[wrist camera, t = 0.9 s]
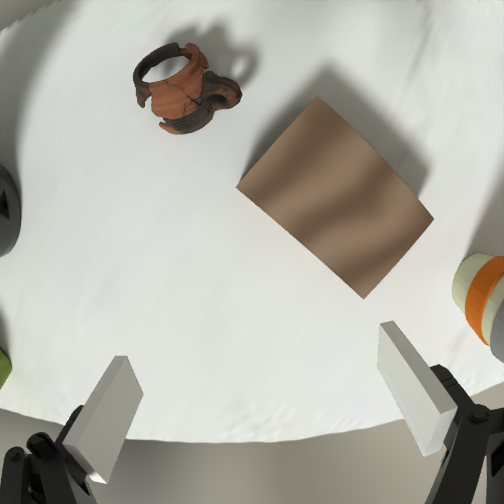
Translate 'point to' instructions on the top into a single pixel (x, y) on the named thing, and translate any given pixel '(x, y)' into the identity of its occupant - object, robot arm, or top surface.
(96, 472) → the robot arm
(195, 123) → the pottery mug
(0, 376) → the plant pot
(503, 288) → the reusable coffee cup
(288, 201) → the walnut box
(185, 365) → the top surface
